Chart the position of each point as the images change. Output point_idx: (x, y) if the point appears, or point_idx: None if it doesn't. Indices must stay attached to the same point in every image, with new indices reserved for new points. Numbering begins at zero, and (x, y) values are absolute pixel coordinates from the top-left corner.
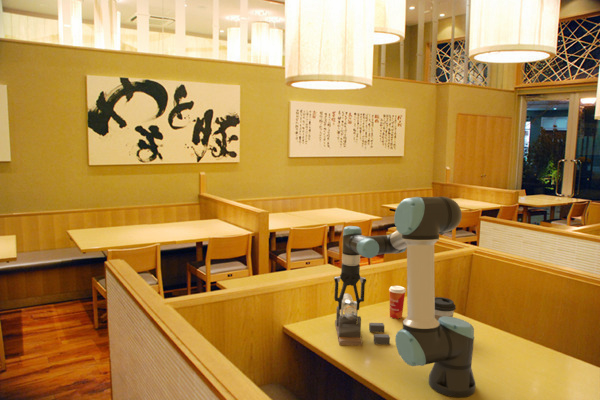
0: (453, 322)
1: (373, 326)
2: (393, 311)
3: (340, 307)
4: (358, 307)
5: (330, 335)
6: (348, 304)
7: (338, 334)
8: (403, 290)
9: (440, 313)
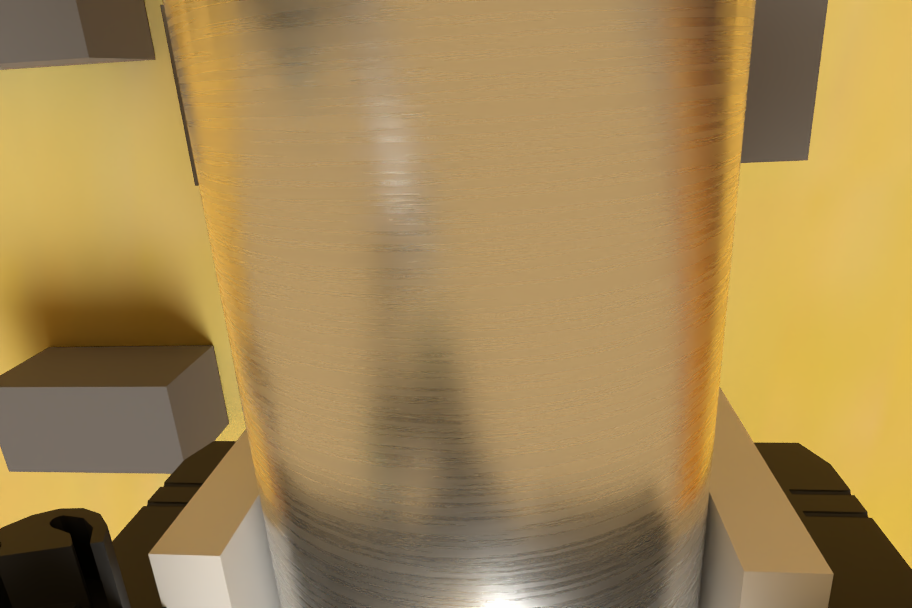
0: None
1: (133, 380)
2: None
3: (778, 482)
4: (185, 488)
5: (770, 193)
6: (557, 204)
7: None
8: None
9: None
